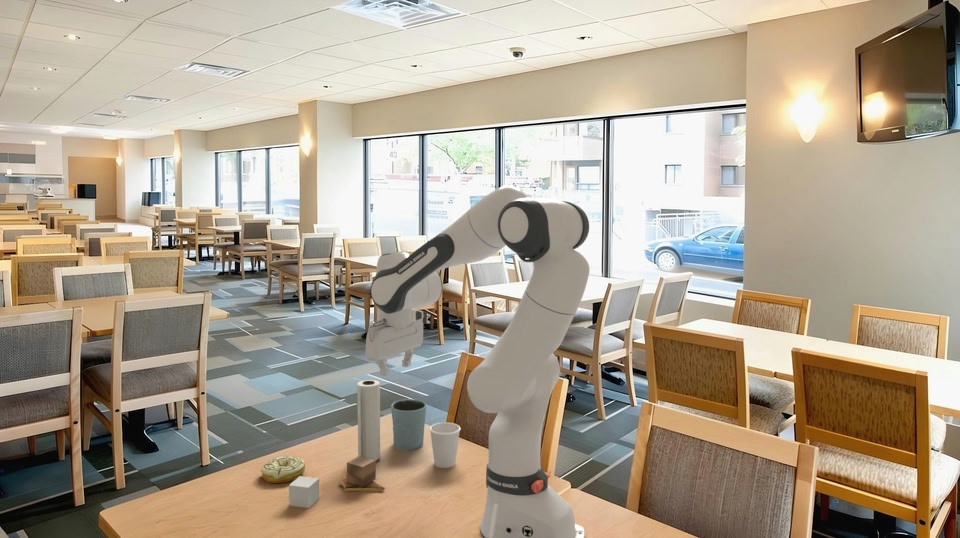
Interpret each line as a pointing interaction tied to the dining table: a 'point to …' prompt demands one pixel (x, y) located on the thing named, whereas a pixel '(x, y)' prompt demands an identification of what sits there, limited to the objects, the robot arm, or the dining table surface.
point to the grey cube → (304, 492)
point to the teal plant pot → (408, 423)
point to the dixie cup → (445, 443)
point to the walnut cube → (361, 471)
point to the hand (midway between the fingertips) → (395, 370)
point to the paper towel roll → (369, 419)
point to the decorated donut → (283, 469)
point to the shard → (369, 487)
